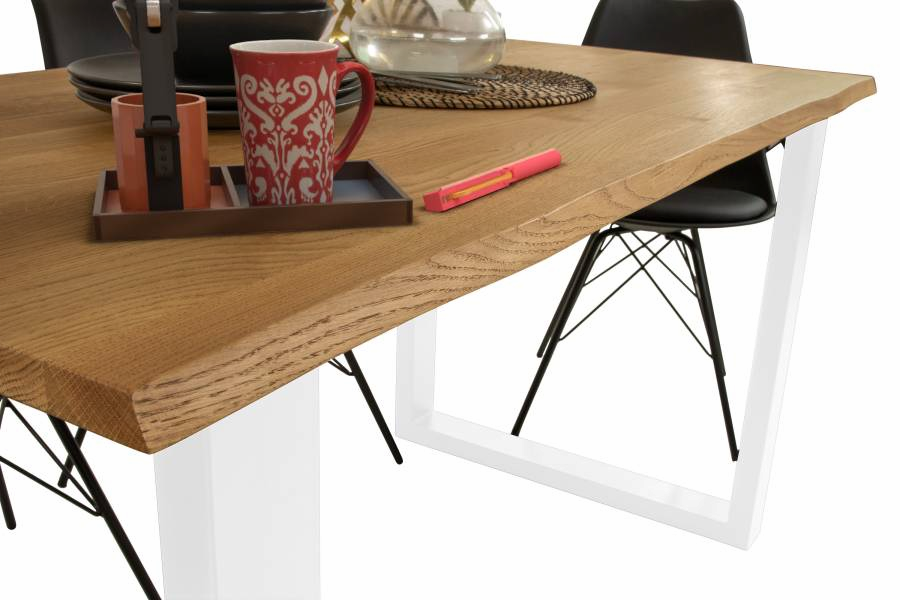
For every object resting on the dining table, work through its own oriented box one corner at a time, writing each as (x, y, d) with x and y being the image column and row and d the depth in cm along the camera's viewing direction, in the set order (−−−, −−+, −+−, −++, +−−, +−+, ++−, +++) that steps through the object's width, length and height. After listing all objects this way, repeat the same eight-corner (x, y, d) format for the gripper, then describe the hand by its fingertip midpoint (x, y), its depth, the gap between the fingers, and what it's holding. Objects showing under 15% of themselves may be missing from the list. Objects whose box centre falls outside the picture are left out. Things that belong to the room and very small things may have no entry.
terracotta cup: (213, 215, 83) (208, 105, 80) (119, 219, 81) (110, 107, 78) (208, 194, 90) (202, 91, 86) (121, 197, 88) (112, 92, 84)
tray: (95, 247, 77) (92, 215, 76) (101, 196, 91) (99, 169, 90) (412, 229, 84) (413, 199, 83) (372, 184, 98) (372, 159, 97)
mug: (257, 222, 82) (250, 52, 77) (223, 197, 89) (214, 40, 85) (396, 206, 88) (397, 47, 83) (353, 183, 95) (352, 37, 91)
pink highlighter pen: (410, 219, 89) (453, 211, 87) (404, 196, 89) (447, 187, 86) (535, 172, 109) (574, 164, 106) (531, 152, 108) (569, 144, 105)
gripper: (98, -87, 85) (120, 178, 93) (88, -90, 67) (117, 239, 75) (189, -84, 87) (203, 175, 95) (203, -86, 69) (220, 234, 77)
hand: (165, 203), depth 85 cm, fingers closed on terracotta cup, 7 cm apart
